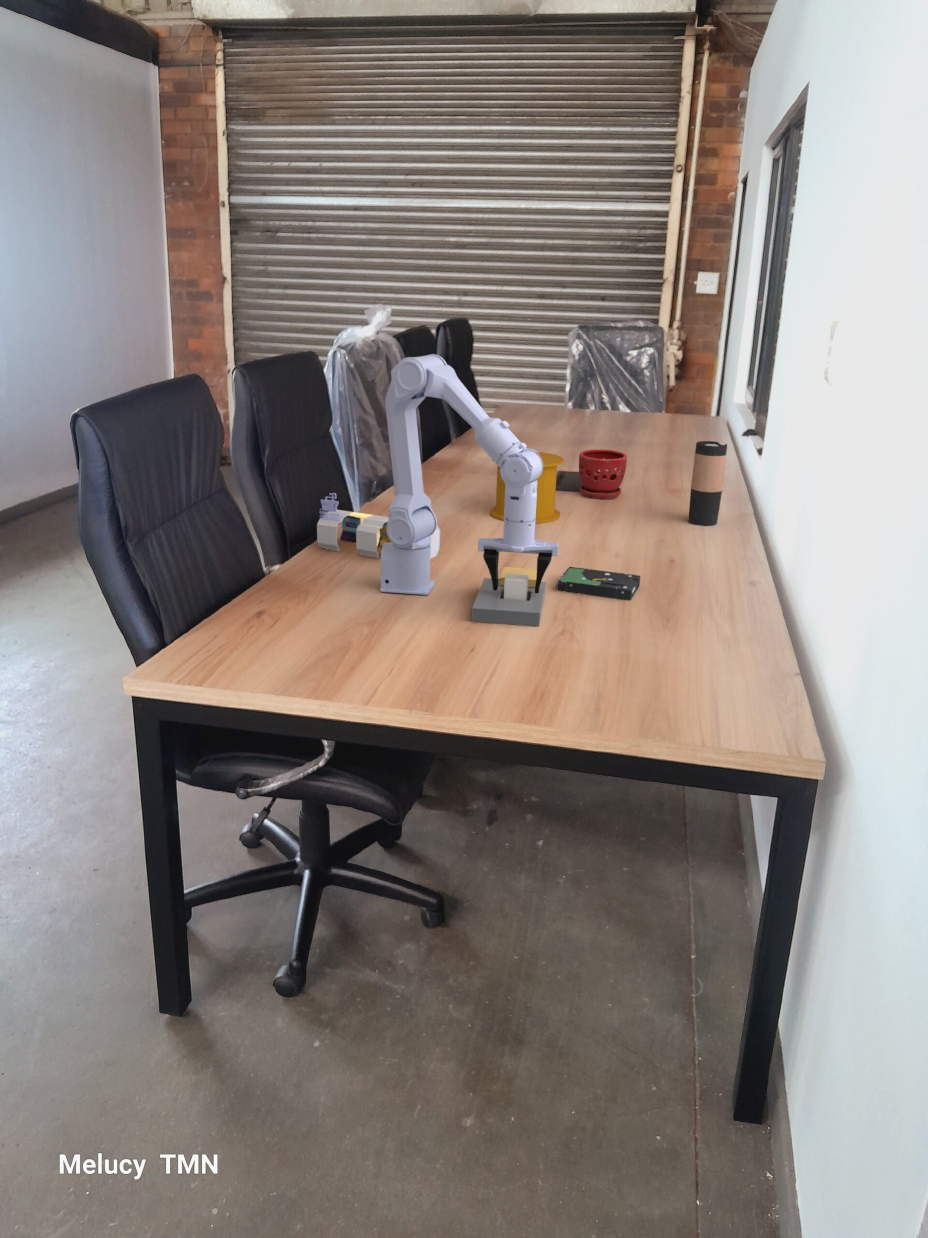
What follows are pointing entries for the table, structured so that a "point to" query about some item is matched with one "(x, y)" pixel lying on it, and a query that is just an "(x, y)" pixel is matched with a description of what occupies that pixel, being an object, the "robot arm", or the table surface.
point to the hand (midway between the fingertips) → (516, 590)
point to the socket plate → (507, 606)
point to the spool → (544, 491)
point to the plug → (516, 587)
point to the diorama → (358, 530)
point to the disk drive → (599, 583)
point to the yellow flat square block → (525, 571)
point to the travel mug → (707, 483)
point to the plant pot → (601, 473)
